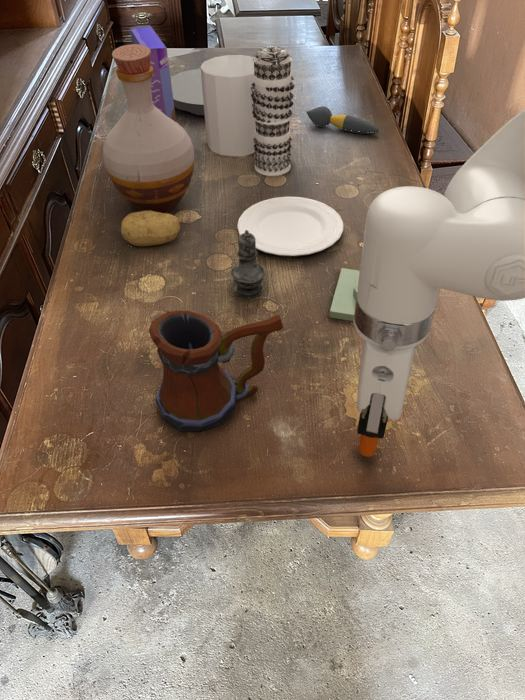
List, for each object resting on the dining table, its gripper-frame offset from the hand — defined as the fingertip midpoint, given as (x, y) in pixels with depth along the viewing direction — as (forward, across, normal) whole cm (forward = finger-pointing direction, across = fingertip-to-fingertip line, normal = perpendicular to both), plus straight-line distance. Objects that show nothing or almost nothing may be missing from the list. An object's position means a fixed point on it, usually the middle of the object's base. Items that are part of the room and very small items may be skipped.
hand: (372, 423), depth 66 cm
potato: (+6, +38, +46) cm, 60 cm away
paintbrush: (+7, +97, +20) cm, 99 cm away
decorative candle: (+6, +73, +32) cm, 80 cm away
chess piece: (+6, +29, +24) cm, 38 cm away
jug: (+6, +52, +52) cm, 73 cm away
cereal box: (+6, +79, +62) cm, 100 cm away
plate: (+6, +48, +22) cm, 53 cm away
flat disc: (+6, +107, +58) cm, 122 cm away
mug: (+6, +4, +22) cm, 23 cm away
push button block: (+6, +31, +2) cm, 32 cm away
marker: (+6, 0, 0) cm, 6 cm away
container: (+6, +83, +44) cm, 94 cm away
